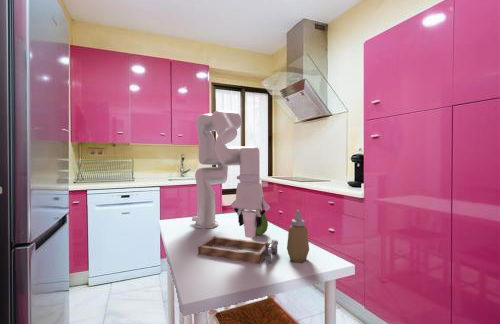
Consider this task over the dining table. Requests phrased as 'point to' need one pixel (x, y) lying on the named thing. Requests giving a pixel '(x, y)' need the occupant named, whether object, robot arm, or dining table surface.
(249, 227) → the smoothie
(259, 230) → the avocado
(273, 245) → the grey metal handle
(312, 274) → the dining table surface
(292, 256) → the squeeze bottle
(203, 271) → the dining table surface
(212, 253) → the bay
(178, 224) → the dining table surface
